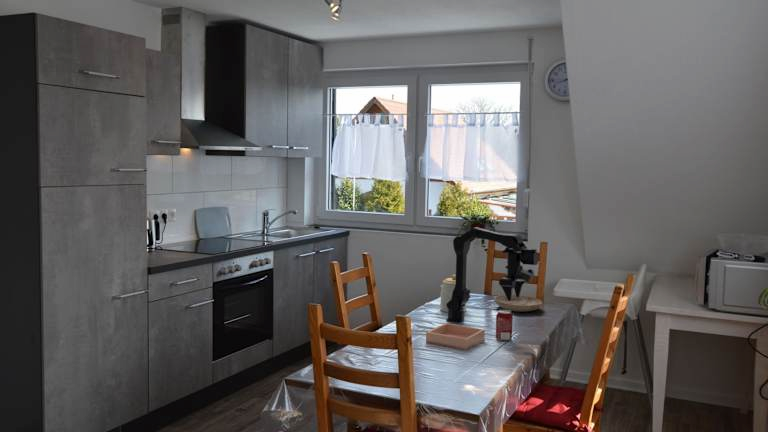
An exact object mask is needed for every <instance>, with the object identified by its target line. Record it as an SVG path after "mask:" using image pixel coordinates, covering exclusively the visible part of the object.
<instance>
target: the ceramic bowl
mask: <svg viewBox="0 0 768 432" xmlns="http://www.w3.org/2000/svg"><path fill="white" fill-rule="evenodd" d="M494 303H495V304H496V305H497V306H498V307H500V308H501V309H502V310H509V311H511V312H518V313H525V312H533V311H535V310H538V309H540V308H541V307H542V305H543V301H542V300H541V299H539V298H535V297H533V296H528V295H521V294H520V296H519V297H516V294H512V297H511V301H508V299H507V297H506V295H505V294H501V295H495V297H494Z"/></svg>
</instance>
